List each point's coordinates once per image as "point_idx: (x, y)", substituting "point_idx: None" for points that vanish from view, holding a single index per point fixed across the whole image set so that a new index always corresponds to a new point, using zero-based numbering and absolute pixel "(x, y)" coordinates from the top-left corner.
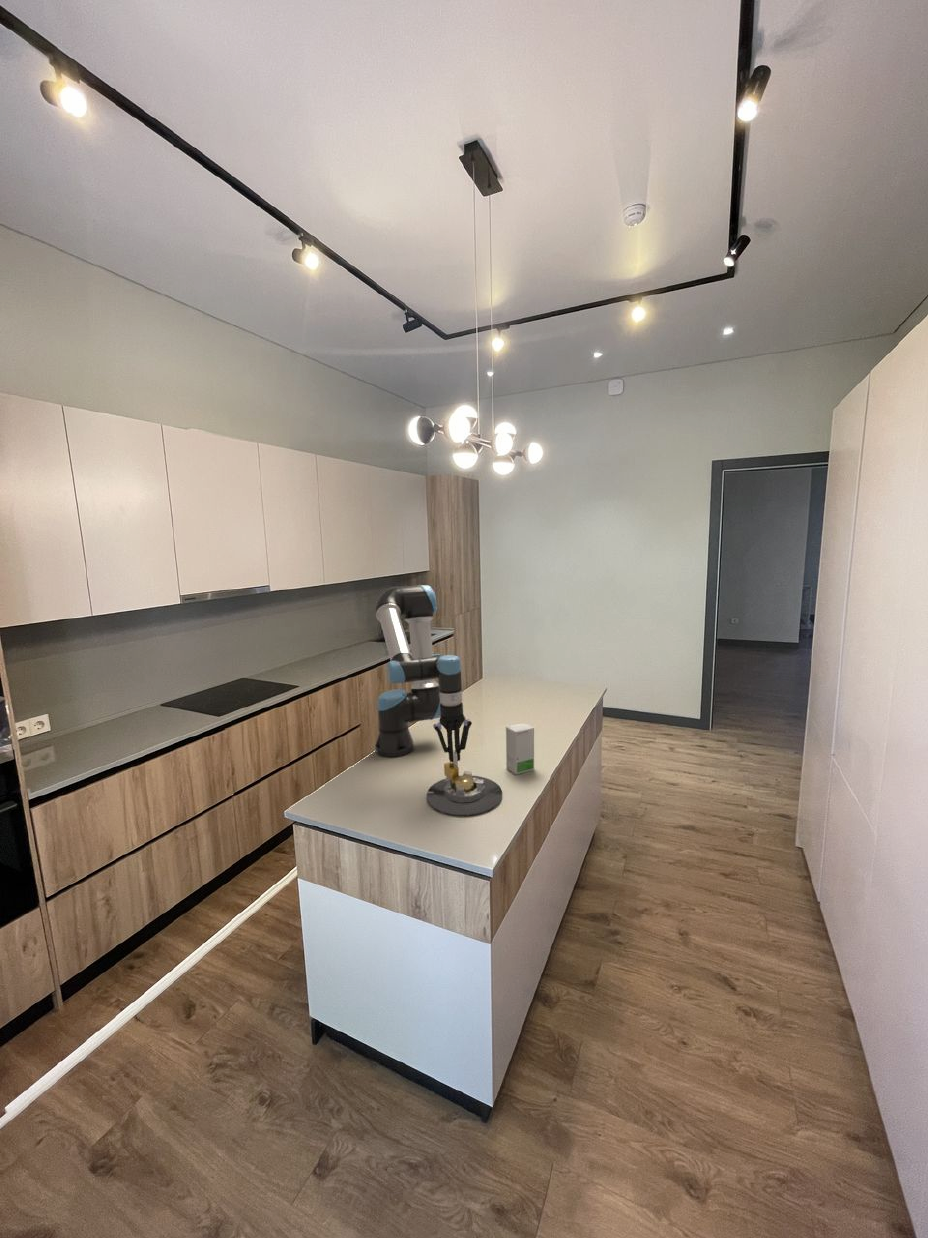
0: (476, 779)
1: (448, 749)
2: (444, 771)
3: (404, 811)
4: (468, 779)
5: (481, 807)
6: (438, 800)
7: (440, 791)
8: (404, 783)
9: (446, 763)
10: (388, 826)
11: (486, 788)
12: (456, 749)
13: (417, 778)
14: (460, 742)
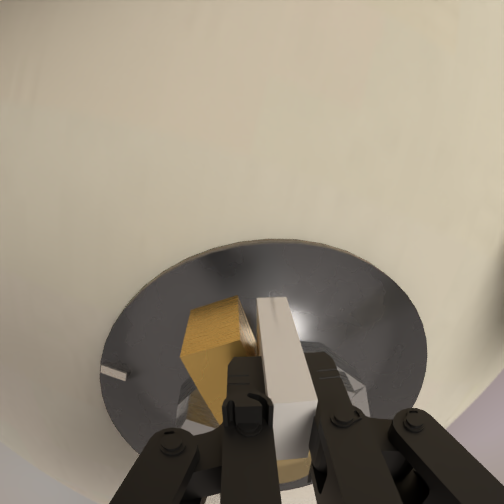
0: (356, 394)
1: (219, 488)
2: (188, 325)
3: (43, 412)
4: (301, 460)
5: (296, 480)
6: (150, 429)
7: (161, 377)
8: (6, 210)
9: (201, 357)
10: (27, 445)
11: (372, 394)
12: (313, 479)
13: (59, 168)
14: (416, 455)
